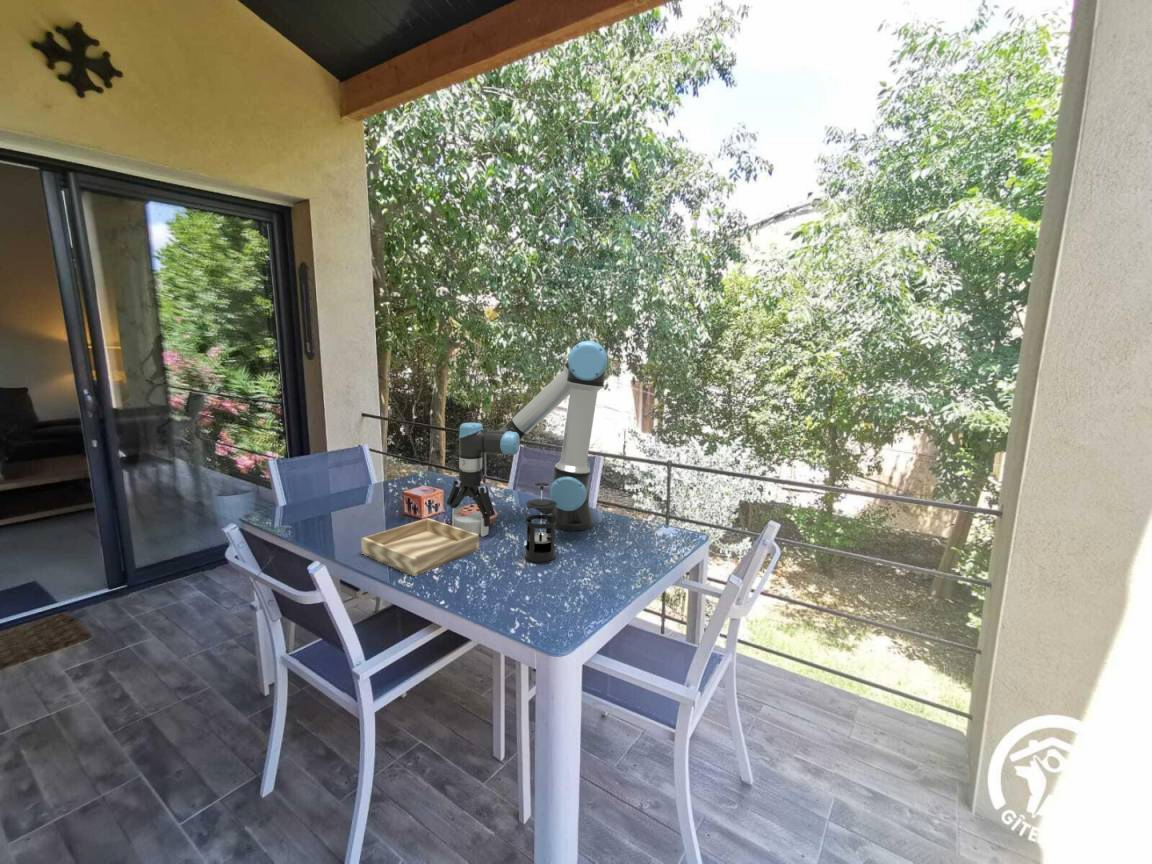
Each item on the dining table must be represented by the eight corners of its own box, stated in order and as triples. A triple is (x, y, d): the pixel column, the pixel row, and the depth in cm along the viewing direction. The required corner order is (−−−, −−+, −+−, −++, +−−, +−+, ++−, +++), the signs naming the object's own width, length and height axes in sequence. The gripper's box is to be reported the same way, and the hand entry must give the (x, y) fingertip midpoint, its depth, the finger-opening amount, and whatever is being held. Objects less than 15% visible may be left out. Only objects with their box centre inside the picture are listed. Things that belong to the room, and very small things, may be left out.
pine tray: (478, 550, 156) (478, 534, 155) (413, 576, 137) (413, 559, 136) (427, 532, 170) (427, 517, 169) (361, 554, 150) (361, 538, 149)
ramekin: (464, 524, 179) (464, 509, 178) (493, 528, 176) (493, 513, 175) (447, 534, 168) (447, 519, 168) (477, 539, 165) (478, 523, 165)
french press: (542, 567, 145) (544, 489, 142) (516, 559, 150) (517, 484, 146) (564, 554, 155) (567, 481, 152) (539, 547, 160) (541, 476, 156)
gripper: (436, 465, 173) (436, 524, 176) (490, 478, 159) (488, 542, 162) (453, 461, 179) (453, 519, 182) (506, 474, 165) (505, 536, 168)
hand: (470, 530), depth 172 cm, fingers open, 13 cm apart
